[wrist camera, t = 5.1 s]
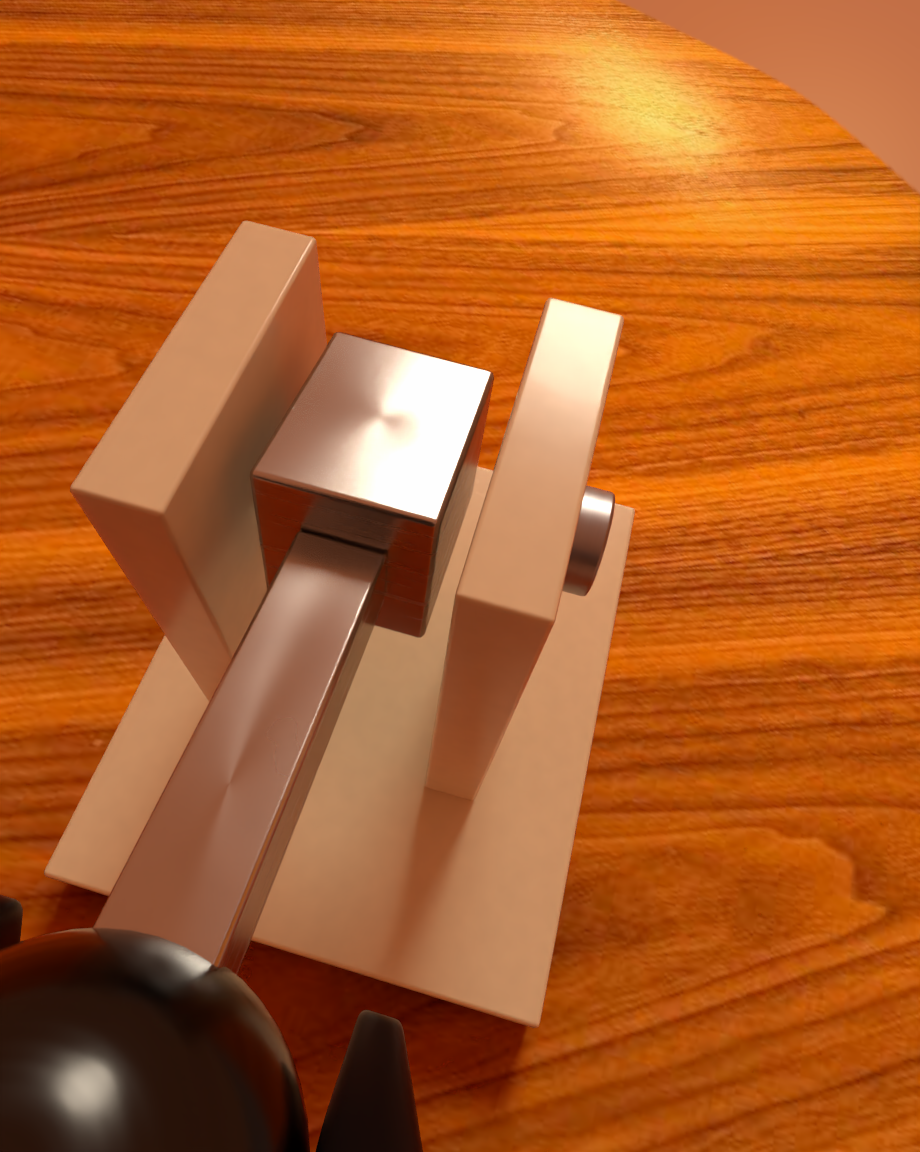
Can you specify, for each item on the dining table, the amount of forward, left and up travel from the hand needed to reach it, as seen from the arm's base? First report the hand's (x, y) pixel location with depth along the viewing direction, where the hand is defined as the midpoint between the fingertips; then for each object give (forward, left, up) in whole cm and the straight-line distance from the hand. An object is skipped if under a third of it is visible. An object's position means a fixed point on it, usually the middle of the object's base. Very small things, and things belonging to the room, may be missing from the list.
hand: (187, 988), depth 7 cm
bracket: (+5, -3, -7) cm, 9 cm away
